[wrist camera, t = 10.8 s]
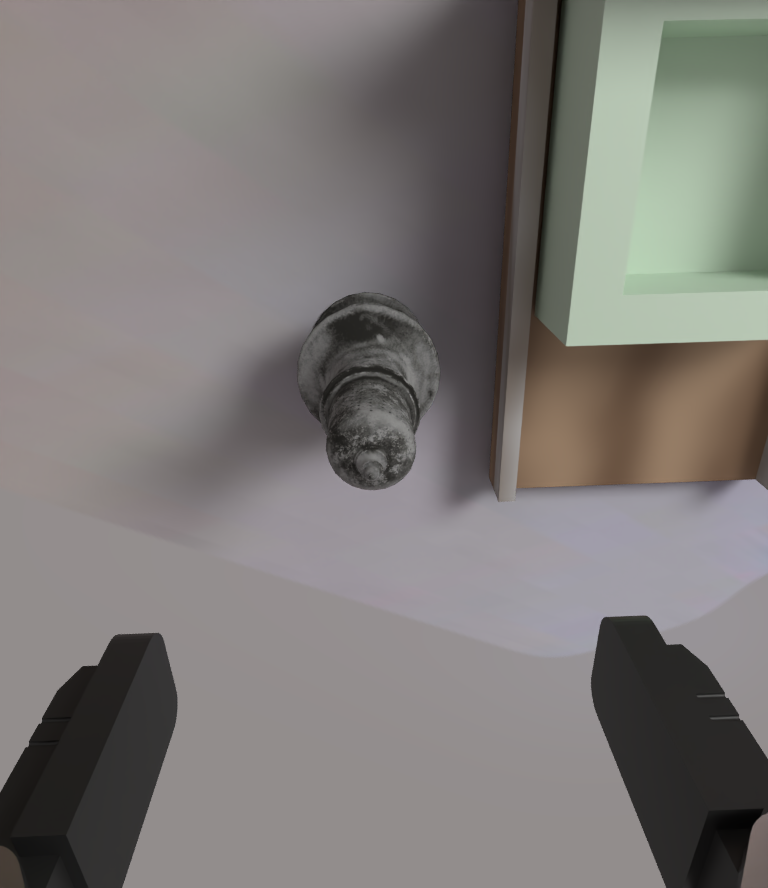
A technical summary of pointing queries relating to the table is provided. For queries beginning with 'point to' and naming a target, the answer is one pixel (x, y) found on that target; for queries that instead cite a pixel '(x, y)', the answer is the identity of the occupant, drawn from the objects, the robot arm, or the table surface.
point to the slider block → (657, 174)
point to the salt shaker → (369, 386)
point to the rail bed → (602, 350)
